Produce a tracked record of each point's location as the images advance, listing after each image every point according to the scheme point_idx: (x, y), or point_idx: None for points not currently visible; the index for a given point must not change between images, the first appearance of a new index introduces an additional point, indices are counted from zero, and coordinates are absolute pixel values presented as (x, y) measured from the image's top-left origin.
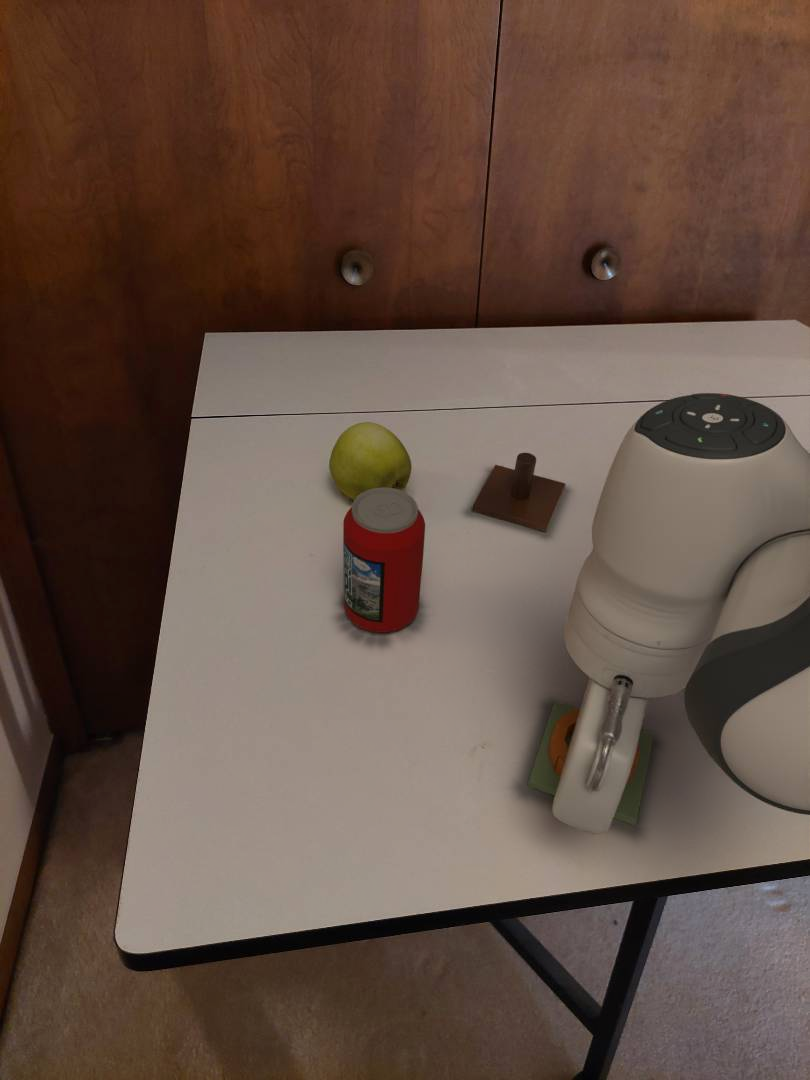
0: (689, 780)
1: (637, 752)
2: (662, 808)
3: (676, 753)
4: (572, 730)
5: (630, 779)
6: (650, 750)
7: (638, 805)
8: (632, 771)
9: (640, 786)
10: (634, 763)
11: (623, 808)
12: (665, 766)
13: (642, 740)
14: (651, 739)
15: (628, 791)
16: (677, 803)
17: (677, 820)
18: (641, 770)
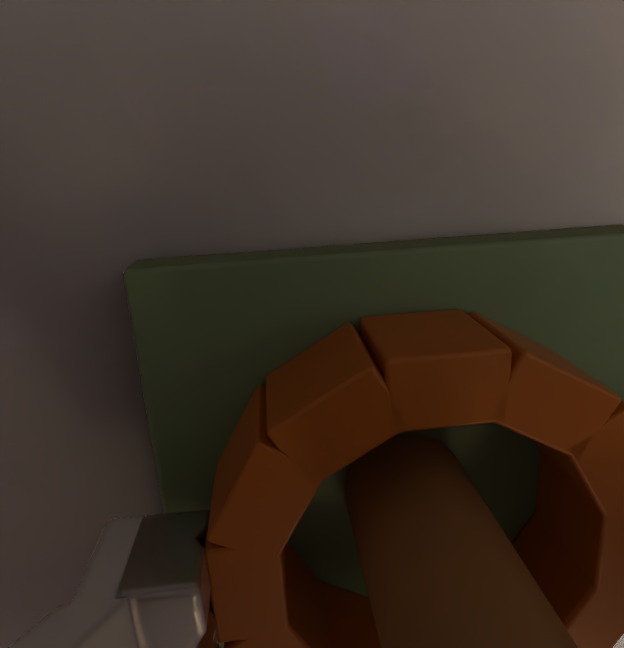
0: (279, 14)
1: (411, 370)
2: (497, 121)
3: (144, 118)
4: (352, 626)
5: (490, 321)
6: (241, 263)
7: (586, 242)
8: (543, 358)
9: (478, 258)
10: (494, 365)
11: (619, 300)
12: (255, 157)
13: (198, 315)
14: (166, 274)
15: (528, 304)
16: (443, 53)
17: (537, 34)
18: (386, 276)
